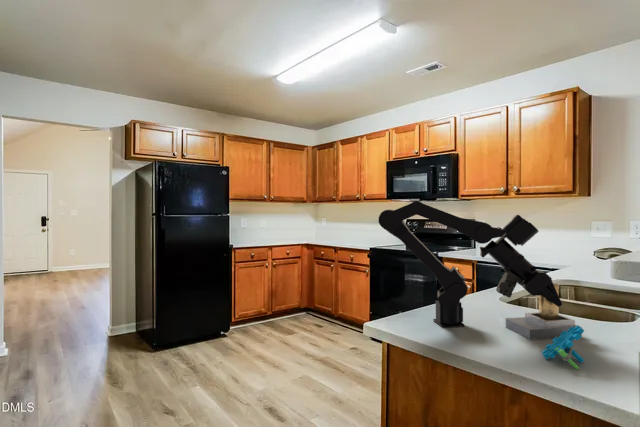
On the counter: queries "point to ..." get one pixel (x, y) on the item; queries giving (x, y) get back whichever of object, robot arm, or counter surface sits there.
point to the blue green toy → (565, 346)
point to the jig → (539, 326)
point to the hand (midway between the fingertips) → (555, 301)
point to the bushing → (548, 307)
